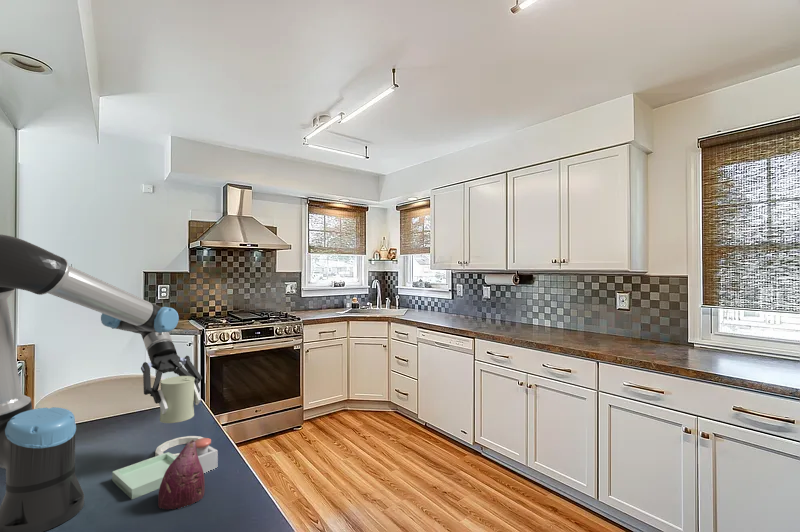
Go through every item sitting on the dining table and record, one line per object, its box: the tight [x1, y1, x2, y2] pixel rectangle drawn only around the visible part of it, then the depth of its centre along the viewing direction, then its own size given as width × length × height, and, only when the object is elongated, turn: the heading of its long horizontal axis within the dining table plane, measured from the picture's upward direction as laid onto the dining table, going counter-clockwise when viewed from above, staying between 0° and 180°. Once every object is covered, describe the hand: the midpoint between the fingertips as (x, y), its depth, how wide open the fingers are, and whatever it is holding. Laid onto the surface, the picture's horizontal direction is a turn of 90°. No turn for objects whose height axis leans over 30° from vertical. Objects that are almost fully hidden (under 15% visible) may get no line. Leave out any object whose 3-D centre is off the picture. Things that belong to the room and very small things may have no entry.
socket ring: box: [154, 435, 204, 457], centre depth 121 cm, size 14×14×2 cm
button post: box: [198, 445, 219, 474], centre depth 110 cm, size 6×6×5 cm
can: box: [159, 375, 195, 424], centre depth 119 cm, size 9×9×12 cm
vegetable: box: [157, 439, 206, 510], centre depth 98 cm, size 10×10×15 cm
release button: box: [194, 437, 212, 456], centre depth 110 cm, size 5×5×6 cm
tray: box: [111, 451, 177, 500], centre depth 105 cm, size 14×14×2 cm
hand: (182, 406), depth 117 cm, fingers closed on can, 9 cm apart
